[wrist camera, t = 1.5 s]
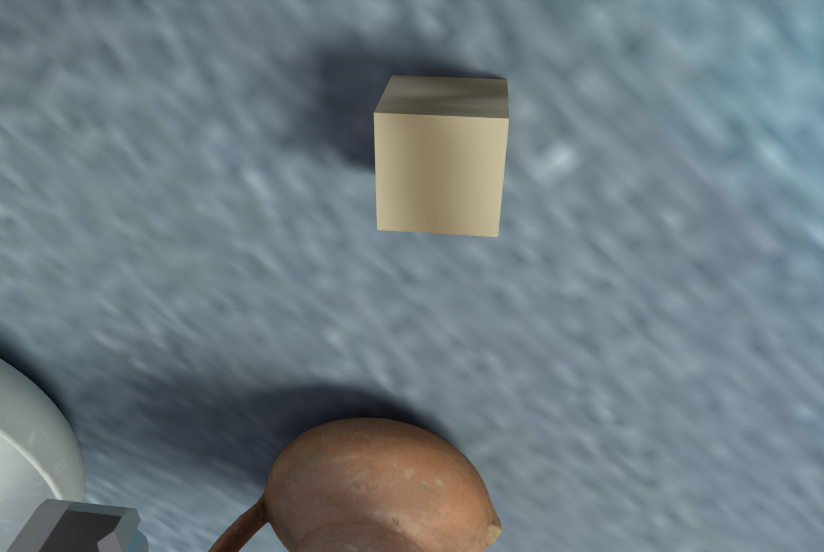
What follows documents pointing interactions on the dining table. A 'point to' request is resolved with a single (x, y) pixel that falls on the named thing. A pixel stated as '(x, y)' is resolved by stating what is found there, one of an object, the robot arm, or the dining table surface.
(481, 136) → the oak cube
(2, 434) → the serving bowl
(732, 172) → the dining table surface
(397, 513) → the ceramic jug
